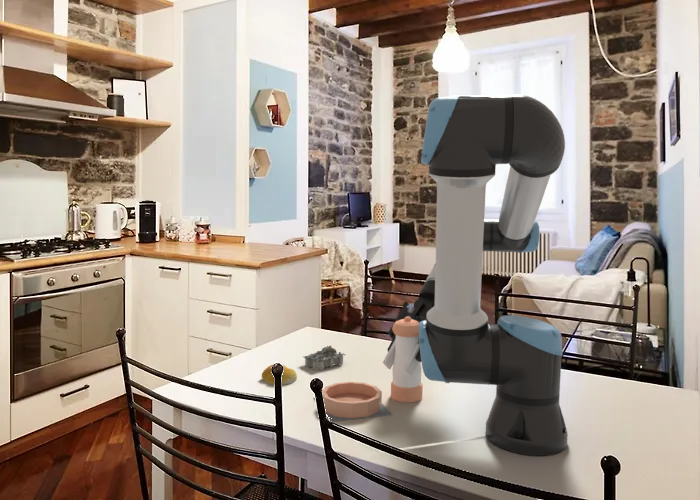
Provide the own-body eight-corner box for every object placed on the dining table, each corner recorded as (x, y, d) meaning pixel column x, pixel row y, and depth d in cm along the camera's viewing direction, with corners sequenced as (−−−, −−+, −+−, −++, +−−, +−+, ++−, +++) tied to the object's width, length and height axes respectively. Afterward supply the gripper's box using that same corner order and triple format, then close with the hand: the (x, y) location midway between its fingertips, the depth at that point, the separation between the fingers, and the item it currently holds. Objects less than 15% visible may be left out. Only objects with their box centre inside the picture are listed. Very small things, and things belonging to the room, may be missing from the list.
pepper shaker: (387, 401, 126) (388, 318, 124) (395, 390, 133) (396, 312, 131) (418, 405, 123) (419, 321, 121) (425, 394, 130) (426, 314, 128)
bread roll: (276, 390, 133) (276, 373, 133) (257, 380, 140) (256, 365, 140) (304, 382, 139) (304, 366, 138) (284, 373, 145) (284, 358, 145)
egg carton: (331, 358, 159) (331, 344, 159) (347, 364, 153) (348, 350, 153) (300, 365, 152) (300, 350, 152) (316, 372, 147) (316, 357, 146)
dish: (389, 413, 118) (389, 399, 117) (331, 420, 114) (331, 406, 113) (369, 392, 130) (369, 379, 129) (316, 398, 126) (316, 385, 126)
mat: (392, 416, 117) (392, 414, 117) (329, 424, 113) (329, 422, 113) (370, 393, 131) (370, 391, 130) (313, 399, 126) (313, 398, 126)
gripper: (478, 302, 131) (438, 387, 120) (415, 292, 143) (373, 368, 133) (467, 282, 126) (424, 369, 116) (402, 274, 139) (358, 351, 128)
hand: (397, 368), depth 124 cm, fingers closed on pepper shaker, 5 cm apart
